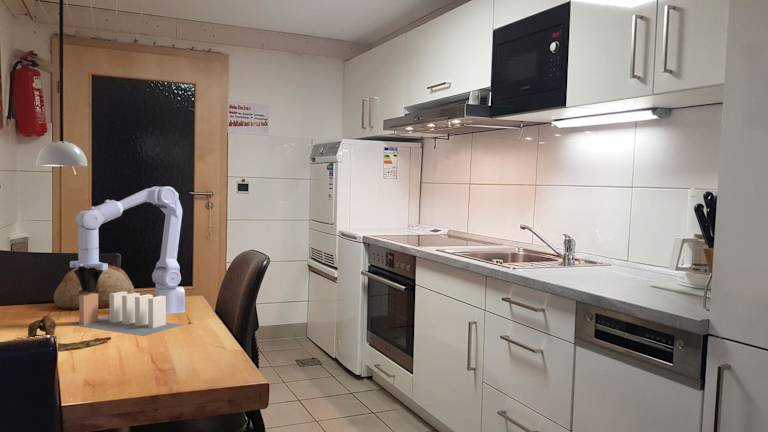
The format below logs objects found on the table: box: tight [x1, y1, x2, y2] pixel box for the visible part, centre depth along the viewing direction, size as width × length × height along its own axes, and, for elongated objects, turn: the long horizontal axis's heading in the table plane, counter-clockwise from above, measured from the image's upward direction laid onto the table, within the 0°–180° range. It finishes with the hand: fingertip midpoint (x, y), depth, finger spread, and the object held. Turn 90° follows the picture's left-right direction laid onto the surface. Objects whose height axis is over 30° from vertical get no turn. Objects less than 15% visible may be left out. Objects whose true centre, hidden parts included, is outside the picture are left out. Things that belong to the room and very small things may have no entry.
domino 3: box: [122, 292, 141, 324], centre depth 182 cm, size 2×5×9 cm, turn 156°
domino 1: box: [78, 293, 99, 325], centre depth 180 cm, size 2×5×9 cm, turn 156°
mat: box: [70, 315, 183, 337], centre depth 179 cm, size 31×16×1 cm, turn 66°
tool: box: [27, 315, 112, 352], centre depth 154 cm, size 23×6×30 cm
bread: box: [53, 264, 136, 310], centre depth 211 cm, size 26×23×15 cm
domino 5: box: [148, 296, 167, 328], centre depth 177 cm, size 2×5×9 cm, turn 156°
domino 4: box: [135, 294, 154, 326], centre depth 180 cm, size 2×5×9 cm, turn 156°
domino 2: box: [109, 292, 127, 322], centre depth 184 cm, size 2×5×9 cm, turn 156°
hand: (88, 291), depth 180 cm, fingers closed
